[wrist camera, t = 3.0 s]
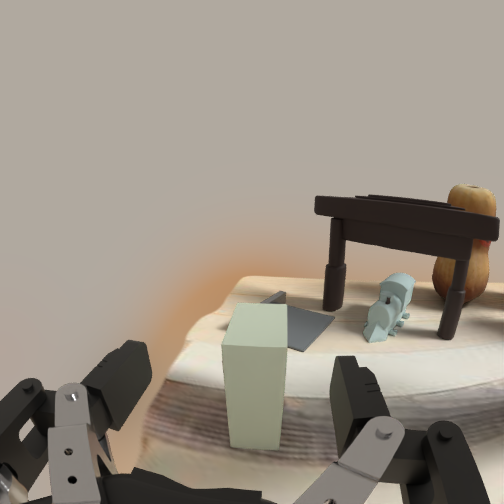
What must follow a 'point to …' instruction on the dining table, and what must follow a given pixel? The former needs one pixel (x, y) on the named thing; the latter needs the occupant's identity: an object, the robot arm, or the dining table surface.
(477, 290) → the butternut squash
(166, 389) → the dining table surface
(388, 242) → the stool
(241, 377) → the carton
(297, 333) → the shelf mat
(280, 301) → the rail
